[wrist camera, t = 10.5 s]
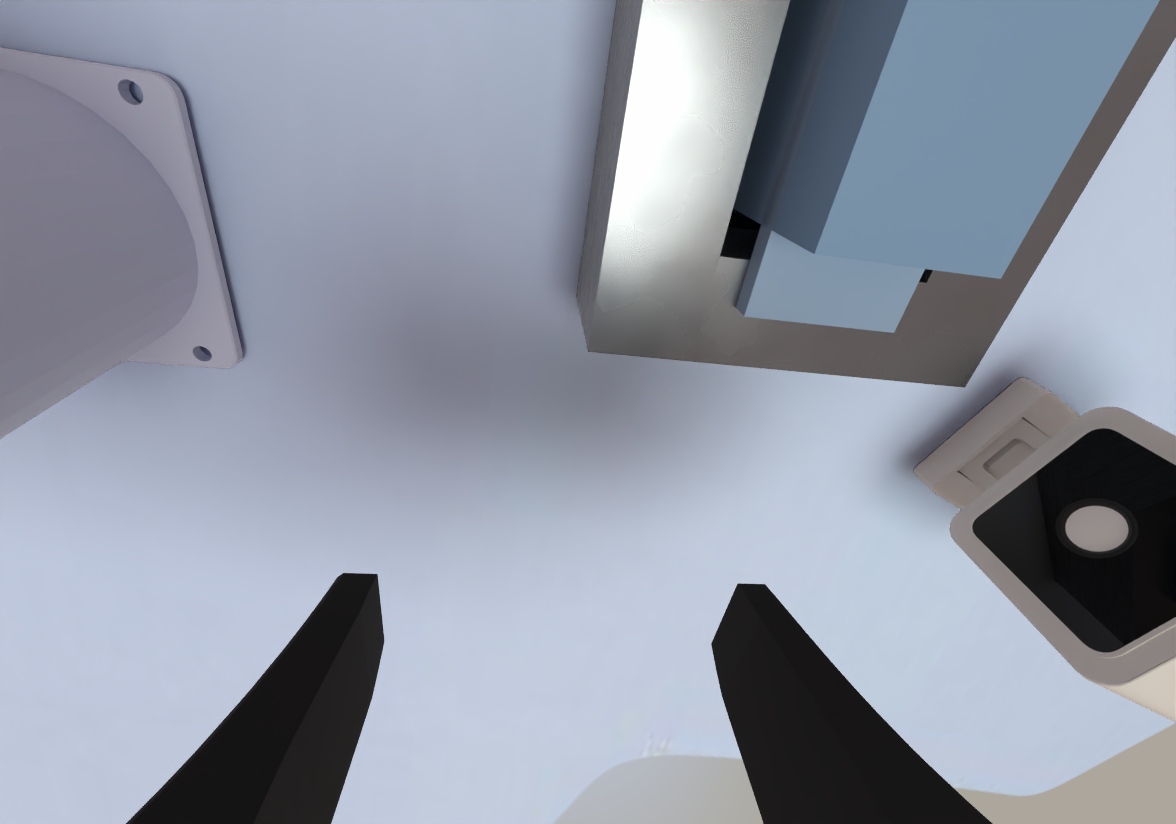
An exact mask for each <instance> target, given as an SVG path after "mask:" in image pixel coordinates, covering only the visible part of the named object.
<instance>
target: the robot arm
mask: <svg viewBox="0 0 1176 824" xmlns="http://www.w3.org/2000/svg"><path fill="white" fill-rule="evenodd" d="M132 81H133V82H134V83H135V84H136V85H138V86H139V87H140V89H141V91H142V93H143V101H142V102H141V103H138V102H137V101H136V100H135V99H134V98H133V97H132V95H131V93H130V91H129V84H130V83H131V82H132ZM200 346H202V347H205V348H206V349H208V350H209V351H210V353H211V354H212V356H209V355H206V354H205V353H203V352H202V350H201V349H200ZM241 359H242V348H241V344H240V339H239V335H238V331H237V326H236V322H235V318H234V313H233V309H232V304H231V300H230V296H229V291H228V287H227V283H226V278H225V274H224V269H223V265H222V261H221V256H220V252H219V248H218V243H217V239H216V234H215V230H214V226H213V221H212V217H211V213H210V208H209V204H208V199H207V195H206V191H205V186H204V182H203V178H202V173H201V169H200V164H199V160H198V156H197V151H196V147H195V143H194V138H193V134H192V129H191V125H190V121H189V116H188V112H187V108H186V103H185V99H184V97H183V94H182V92H181V90H180V88H179V87H178V86H177V84H176V83H175V82H174V81H173V80H171V79H170V78H169V77H167V76H166V75H164V74H161V73H158V72H153V71H147V70H141V69H134V68H128V67H122V66H115V65H109V64H103V63H97V62H90V61H84V60H78V59H71V58H65V57H59V56H52V55H46V54H40V53H33V52H27V51H21V50H15V49H8V48H2V47H0V439H1V438H3V437H4V436H6V435H7V434H9V433H10V432H12V431H14V430H15V429H17V428H18V427H20V426H21V425H23V424H25V423H26V422H28V421H29V420H31V419H32V418H34V417H36V416H37V415H39V414H40V413H42V412H43V411H45V410H47V409H48V408H50V407H51V406H53V405H54V404H56V403H58V402H59V401H61V400H62V399H64V398H65V397H67V396H68V395H70V394H72V393H73V392H75V391H76V390H78V389H79V388H81V387H83V386H84V385H86V384H87V383H89V382H90V381H92V380H94V379H95V378H97V377H98V376H100V375H101V374H103V373H105V372H106V371H108V370H109V369H111V368H112V367H114V366H116V365H117V364H119V363H120V362H122V361H134V362H147V363H159V364H171V365H184V366H196V367H208V368H221V369H227V368H232V367H234V366H235V365H236V364H238V363H239V362H240V360H241ZM711 644H712V650H713V655H714V660H715V665H716V670H717V675H718V680H719V684H720V689H721V693H722V697H723V700H724V703H725V707H726V710H727V713H728V716H729V719H730V722H731V725H732V728H733V732H734V735H735V738H736V741H737V744H738V747H739V750H740V753H741V756H742V759H743V762H744V765H745V768H746V771H747V774H748V777H749V780H750V783H751V786H752V789H753V792H754V795H755V798H756V801H757V805H758V808H759V810H760V814H761V817H762V820H763V823H764V824H992V823H991V822H990V821H989V820H988V819H987V818H985V817H984V816H983V815H982V814H981V813H980V812H979V811H978V810H977V809H975V808H974V807H973V806H972V805H971V804H970V803H969V802H968V801H967V800H965V799H964V798H963V797H962V796H961V795H960V794H959V793H958V792H957V791H956V790H955V789H954V788H953V787H952V786H951V785H950V784H948V783H947V782H946V781H945V780H944V779H943V778H942V777H941V776H940V775H939V774H938V773H937V772H936V771H935V770H934V769H933V768H931V767H930V766H929V765H928V764H927V763H926V762H925V761H924V760H923V759H922V758H921V757H920V756H919V755H918V754H917V753H916V752H915V751H914V750H913V749H912V748H911V747H910V746H909V745H908V744H907V743H906V742H905V741H904V740H903V739H902V738H901V737H900V736H899V735H898V734H897V733H896V732H895V731H894V730H893V728H892V727H891V726H890V725H889V724H888V723H887V722H886V721H885V720H884V719H883V718H882V717H881V716H880V715H879V714H878V713H877V712H876V711H875V710H874V709H873V708H872V707H871V705H870V704H869V703H868V702H867V701H866V700H865V699H864V698H863V697H862V696H861V695H860V694H859V692H858V691H857V690H856V689H855V688H854V687H853V686H852V685H851V684H850V683H849V681H848V680H847V679H846V678H845V677H844V676H843V675H842V674H841V672H840V671H839V670H838V669H837V668H836V667H835V666H834V665H833V663H832V662H831V661H830V660H829V659H828V658H827V656H826V655H825V654H824V653H823V652H822V651H821V650H820V648H819V647H818V646H817V645H816V644H815V643H814V641H813V640H812V639H811V638H810V637H809V635H808V634H807V633H806V632H805V631H804V630H803V628H802V627H801V626H800V625H799V624H798V623H797V621H796V620H795V619H794V618H793V617H792V615H791V614H790V613H789V612H788V611H787V610H786V608H785V607H784V606H783V605H782V604H781V602H780V601H779V600H778V599H777V598H776V597H775V595H774V594H773V593H772V592H771V591H770V590H769V588H768V587H767V586H766V585H765V584H737V586H736V589H735V591H734V593H733V596H732V598H731V600H730V602H729V605H728V607H727V609H726V612H725V614H724V616H723V618H722V621H721V623H720V625H719V628H718V630H717V632H716V634H715V637H714V639H713V641H712V643H711ZM383 645H384V633H383V624H382V614H381V604H380V595H379V585H378V575H377V574H355V573H343V574H341V575H340V576H339V577H337V579H336V580H335V582H334V583H333V584H332V586H331V587H330V589H329V590H328V592H327V593H326V594H325V596H324V597H323V598H322V600H321V601H320V603H319V604H318V605H317V607H316V608H315V609H314V611H313V612H312V613H311V615H310V616H309V617H308V619H307V620H306V621H305V623H304V624H303V625H302V627H301V628H300V629H299V630H298V632H297V633H296V634H295V636H294V637H293V638H292V639H291V641H290V642H289V643H288V645H287V646H286V647H285V648H284V649H283V651H282V652H281V653H280V654H279V656H278V657H277V658H276V659H275V660H274V662H273V663H272V664H271V665H270V667H269V668H268V669H267V670H266V671H265V673H264V674H263V675H262V676H261V678H260V679H259V680H258V681H257V682H256V684H255V685H254V686H253V687H252V688H251V690H250V691H249V692H248V693H247V694H246V695H245V697H244V698H243V699H242V700H241V701H240V702H239V703H238V705H237V706H236V707H235V708H234V709H233V710H232V711H231V712H230V714H229V715H228V716H227V717H226V718H225V719H224V720H223V721H222V723H221V724H220V725H219V726H218V727H217V728H216V729H215V730H214V732H213V733H212V734H211V735H210V736H209V737H208V738H207V739H206V741H205V742H204V743H203V744H202V745H201V746H200V747H199V748H198V750H197V751H196V752H195V753H194V754H193V755H192V756H191V757H190V758H189V759H188V760H187V761H186V762H185V763H184V765H183V766H182V767H181V768H180V769H179V770H178V771H177V772H176V773H175V774H174V775H173V776H172V777H171V778H170V779H169V780H168V781H167V782H166V783H165V785H164V786H163V787H162V788H161V789H160V790H159V791H158V792H157V793H156V794H155V795H154V796H153V797H152V798H151V799H150V800H149V801H148V802H147V803H146V804H145V805H144V806H143V807H142V808H141V809H140V810H139V811H138V812H137V813H136V814H135V815H134V816H133V817H132V818H131V819H130V820H129V821H128V822H127V823H126V824H331V822H332V819H333V816H334V813H335V810H336V807H337V804H338V801H339V798H340V795H341V792H342V789H343V786H344V783H345V779H346V776H347V773H348V770H349V767H350V764H351V761H352V758H353V755H354V752H355V749H356V746H357V743H358V740H359V737H360V734H361V731H362V727H363V724H364V721H365V718H366V715H367V712H368V709H369V706H370V702H371V699H372V695H373V691H374V687H375V682H376V678H377V673H378V669H379V664H380V659H381V655H382V650H383Z"/></svg>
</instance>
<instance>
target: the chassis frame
mask: <svg viewBox="0 0 1176 824" xmlns="http://www.w3.org/2000/svg"><path fill="white" fill-rule="evenodd" d="M789 3H790V0H617V1H616V8H615V15H614V23H613V30H612V37H611V45H610V52H609V59H608V67H607V74H606V82H605V89H604V96H603V104H602V111H601V118H600V126H599V133H598V140H597V148H596V155H595V162H594V170H593V177H592V185H591V192H590V199H589V207H588V214H587V221H586V229H585V236H584V243H583V251H582V258H581V265H580V273H579V280H578V287H577V295H576V296H577V301H578V306H579V311H580V316H581V320H582V325H583V330H584V335H585V340H586V345H587V349H588V352H598V353H609V354H619V355H630V356H640V357H651V358H661V359H672V360H682V361H693V362H703V363H714V364H724V365H735V366H746V367H756V368H767V369H777V370H788V371H798V372H809V373H819V374H830V375H840V376H851V377H861V378H872V379H882V380H893V381H903V382H914V383H924V384H935V385H945V386H956V387H965V386H966V384H967V383H968V381H969V380H970V378H971V376H972V375H973V373H974V371H975V370H976V368H977V366H978V365H979V363H980V361H981V360H982V358H983V356H984V355H985V353H986V351H987V350H988V348H989V346H990V345H991V343H992V341H993V340H994V338H995V336H996V335H997V333H998V331H999V330H1000V328H1001V326H1002V325H1003V323H1004V321H1005V320H1006V318H1007V316H1008V315H1009V313H1010V311H1011V310H1012V308H1013V306H1014V305H1015V303H1016V301H1017V300H1018V298H1019V296H1020V295H1021V293H1022V291H1023V290H1024V288H1025V287H1026V285H1027V283H1028V282H1029V280H1030V278H1031V277H1032V275H1033V273H1034V272H1035V270H1036V268H1037V267H1038V265H1039V263H1040V262H1041V260H1042V258H1043V257H1044V255H1045V253H1046V252H1047V250H1048V248H1049V247H1050V245H1051V243H1052V242H1053V240H1054V238H1055V237H1056V235H1057V233H1058V232H1059V230H1060V228H1061V227H1062V225H1063V223H1064V222H1065V220H1066V218H1067V217H1068V215H1069V213H1070V212H1071V210H1072V208H1073V207H1074V205H1075V203H1076V202H1077V200H1078V198H1079V197H1080V195H1081V193H1082V192H1083V190H1084V189H1085V187H1086V185H1087V184H1088V182H1089V180H1090V179H1091V177H1092V175H1093V174H1094V172H1095V170H1096V169H1097V167H1098V165H1099V164H1100V162H1101V160H1102V159H1103V157H1104V155H1105V154H1106V152H1107V150H1108V149H1109V147H1110V145H1111V144H1112V142H1113V140H1114V139H1115V137H1116V135H1117V134H1118V132H1119V130H1120V129H1121V127H1122V125H1123V124H1124V122H1125V120H1126V119H1127V117H1128V115H1129V114H1130V112H1131V110H1132V109H1133V107H1134V105H1135V104H1136V102H1137V100H1138V99H1139V97H1140V96H1141V94H1142V92H1143V91H1144V89H1145V87H1146V86H1147V84H1148V82H1149V81H1150V79H1151V77H1152V76H1153V74H1154V72H1155V71H1156V69H1157V67H1158V66H1159V64H1160V62H1161V61H1162V59H1163V57H1164V56H1165V54H1166V52H1167V51H1168V49H1169V47H1170V46H1171V44H1172V42H1173V41H1174V39H1175V37H1176V0H1160V1H1159V3H1158V5H1157V6H1156V8H1155V10H1154V12H1153V13H1152V15H1151V17H1150V19H1149V20H1148V22H1147V24H1146V26H1145V27H1144V29H1143V31H1142V33H1141V34H1140V36H1139V38H1138V40H1137V41H1136V43H1135V45H1134V47H1133V48H1132V50H1131V52H1130V54H1129V55H1128V57H1127V59H1126V61H1125V62H1124V64H1123V66H1122V68H1121V69H1120V71H1119V73H1118V75H1117V76H1116V78H1115V80H1114V82H1113V83H1112V85H1111V87H1110V89H1109V90H1108V92H1107V94H1106V96H1105V97H1104V99H1103V101H1102V103H1101V104H1100V106H1099V108H1098V110H1097V111H1096V113H1095V115H1094V117H1093V118H1092V120H1091V122H1090V124H1089V125H1088V127H1087V129H1086V131H1085V132H1084V134H1083V136H1082V138H1081V139H1080V141H1079V143H1078V145H1077V146H1076V148H1075V150H1074V152H1073V153H1072V155H1071V157H1070V159H1069V160H1068V162H1067V164H1066V166H1065V167H1064V169H1063V171H1062V173H1061V174H1060V176H1059V178H1058V180H1057V181H1056V183H1055V185H1054V187H1053V188H1052V190H1051V192H1050V194H1049V195H1048V197H1047V199H1046V201H1045V202H1044V204H1043V206H1042V208H1041V209H1040V211H1039V213H1038V215H1037V216H1036V218H1035V220H1034V222H1033V223H1032V225H1031V227H1030V229H1029V230H1028V232H1027V234H1026V236H1025V237H1024V239H1023V241H1022V243H1021V244H1020V246H1019V248H1018V250H1017V251H1016V253H1015V255H1014V257H1013V258H1012V260H1011V262H1010V264H1009V265H1008V267H1007V269H1006V271H1005V272H1004V274H1003V276H1002V278H1001V279H998V278H990V277H982V276H975V275H967V274H960V273H952V272H944V271H937V270H929V269H925V270H924V272H923V274H922V277H921V279H920V281H919V283H918V285H917V287H916V289H915V291H914V293H913V295H912V297H911V299H910V301H909V303H908V305H907V307H906V309H905V311H904V313H903V315H902V317H901V320H900V322H899V324H898V326H897V328H896V330H895V332H894V333H890V332H881V331H872V330H863V329H853V328H844V327H835V326H826V325H817V324H808V323H798V322H789V321H780V320H771V319H762V318H753V317H744V316H743V315H742V314H741V313H740V312H739V311H738V310H737V309H736V305H737V302H738V299H739V295H740V292H741V289H742V286H743V282H744V279H745V276H746V273H747V269H748V266H749V263H750V260H751V256H752V253H753V250H754V246H755V243H756V240H757V237H758V233H759V231H758V230H751V229H743V228H736V227H729V226H728V225H729V221H730V217H731V214H732V210H733V207H734V203H735V199H736V196H737V192H738V188H739V185H740V181H741V177H742V174H743V170H744V167H745V163H746V159H747V156H748V152H749V148H750V145H751V141H752V137H753V134H754V130H755V127H756V123H757V119H758V116H759V112H760V108H761V105H762V101H763V98H764V94H765V90H766V87H767V83H768V79H769V76H770V72H771V68H772V65H773V61H774V58H775V54H776V50H777V47H778V43H779V39H780V36H781V32H782V28H783V25H784V21H785V18H786V14H787V10H788V7H789Z"/></svg>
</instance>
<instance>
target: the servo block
mask: <svg viewBox="0 0 1176 824" xmlns="http://www.w3.org/2000/svg"><path fill="white" fill-rule="evenodd" d="M1159 1H1160V0H790V3H789V7H788V10H787V14H786V18H785V21H784V25H783V28H782V32H781V36H780V39H779V43H778V47H777V50H776V54H775V58H774V61H773V65H772V68H771V72H770V76H769V79H768V83H767V87H766V90H765V94H764V98H763V101H762V105H761V108H760V112H759V116H758V119H757V123H756V127H755V130H754V134H753V137H752V141H751V145H750V148H749V152H748V156H747V159H746V163H745V167H744V170H743V174H742V177H741V181H740V185H739V188H738V192H737V196H736V199H735V203H734V207H733V209H735V210H736V211H738V212H740V213H742V214H744V215H745V216H747V217H749V218H751V219H752V220H754V221H756V222H758V223H759V224H761V227H760V230H759V233H758V237H757V240H756V243H755V246H754V250H753V253H752V256H751V260H750V263H749V266H748V269H747V273H746V276H745V279H744V282H743V286H742V289H741V292H740V295H739V299H738V302H737V305H736V309H737V310H738V311H739V312H740V313H741V314H742V315H743V316H744V317H753V318H762V319H771V320H780V321H789V322H798V323H808V324H817V325H826V326H835V327H844V328H853V329H863V330H872V331H881V332H890V333H894V332H895V330H896V328H897V326H898V324H899V322H900V320H901V317H902V315H903V313H904V311H905V309H906V307H907V305H908V303H909V301H910V299H911V297H912V295H913V293H914V291H915V289H916V287H917V285H918V283H919V281H920V279H921V277H922V274H923V272H924V270H925V269H929V270H937V271H944V272H952V273H960V274H967V275H975V276H982V277H990V278H998V279H1001V278H1002V276H1003V274H1004V272H1005V271H1006V269H1007V267H1008V265H1009V264H1010V262H1011V260H1012V258H1013V257H1014V255H1015V253H1016V251H1017V250H1018V248H1019V246H1020V244H1021V243H1022V241H1023V239H1024V237H1025V236H1026V234H1027V232H1028V230H1029V229H1030V227H1031V225H1032V223H1033V222H1034V220H1035V218H1036V216H1037V215H1038V213H1039V211H1040V209H1041V208H1042V206H1043V204H1044V202H1045V201H1046V199H1047V197H1048V195H1049V194H1050V192H1051V190H1052V188H1053V187H1054V185H1055V183H1056V181H1057V180H1058V178H1059V176H1060V174H1061V173H1062V171H1063V169H1064V167H1065V166H1066V164H1067V162H1068V160H1069V159H1070V157H1071V155H1072V153H1073V152H1074V150H1075V148H1076V146H1077V145H1078V143H1079V141H1080V139H1081V138H1082V136H1083V134H1084V132H1085V131H1086V129H1087V127H1088V125H1089V124H1090V122H1091V120H1092V118H1093V117H1094V115H1095V113H1096V111H1097V110H1098V108H1099V106H1100V104H1101V103H1102V101H1103V99H1104V97H1105V96H1106V94H1107V92H1108V90H1109V89H1110V87H1111V85H1112V83H1113V82H1114V80H1115V78H1116V76H1117V75H1118V73H1119V71H1120V69H1121V68H1122V66H1123V64H1124V62H1125V61H1126V59H1127V57H1128V55H1129V54H1130V52H1131V50H1132V48H1133V47H1134V45H1135V43H1136V41H1137V40H1138V38H1139V36H1140V34H1141V33H1142V31H1143V29H1144V27H1145V26H1146V24H1147V22H1148V20H1149V19H1150V17H1151V15H1152V13H1153V12H1154V10H1155V8H1156V6H1157V5H1158V3H1159Z"/></svg>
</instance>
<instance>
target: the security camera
mask: <svg viewBox="0 0 1176 824" xmlns="http://www.w3.org/2000/svg"><path fill="white" fill-rule="evenodd" d="M914 473H915V474H916V475H917V476H918V477H919V478H920V479H921V480H922V481H923V482H924V483H925V484H926V485H927V486H928V487H929V488H930V489H931V490H932V491H933V492H934V493H935V494H937V495H939V496H940V497H942V498H944V499H945V500H947V501H949V502H950V503H952V504H953V505H955V506H957V507H958V508H960V509H962V510H960V511H959V512H958V513H957V514H956V515H955V516H954V517H953V519H952V521H951V523H950V534H951V537H952V539H953V540H954V541H955V543H956V544H957V545H958V546H959V547H960V548H961V549H962V550H963V551H964V552H965V553H966V554H967V556H968V557H969V558H970V559H971V560H972V561H973V562H974V563H975V564H976V565H977V566H978V567H979V568H980V569H981V570H982V571H983V572H984V574H985V575H986V576H987V577H988V578H989V579H990V580H991V581H992V582H993V583H994V584H995V585H996V586H997V587H998V588H999V589H1000V591H1001V592H1002V593H1003V594H1004V595H1005V596H1006V597H1007V598H1008V599H1009V600H1010V601H1011V602H1012V603H1013V604H1014V605H1015V606H1016V607H1017V609H1018V610H1019V611H1020V612H1021V613H1022V614H1023V615H1024V616H1025V617H1026V618H1027V619H1028V620H1029V621H1030V622H1031V623H1032V624H1033V626H1034V627H1035V628H1036V629H1037V630H1038V631H1039V632H1040V633H1041V634H1042V635H1043V636H1044V637H1045V638H1046V639H1047V640H1048V641H1049V642H1050V644H1051V645H1052V646H1053V647H1054V648H1055V649H1056V650H1057V651H1058V652H1059V653H1060V654H1061V655H1062V656H1063V657H1064V658H1065V659H1066V661H1067V662H1068V663H1069V664H1070V665H1071V666H1072V667H1073V668H1074V669H1075V670H1076V671H1077V672H1078V673H1080V674H1081V675H1082V676H1083V677H1084V678H1086V679H1087V680H1089V681H1091V682H1093V683H1095V684H1097V685H1099V686H1102V687H1104V688H1106V689H1108V690H1110V691H1112V692H1114V693H1116V694H1118V695H1120V696H1122V697H1124V698H1126V699H1128V700H1131V701H1133V702H1135V703H1137V704H1139V705H1141V706H1143V707H1145V708H1147V709H1149V710H1151V711H1153V712H1155V713H1158V714H1160V715H1162V716H1164V717H1166V718H1168V719H1170V720H1172V721H1174V722H1176V436H1175V435H1173V434H1171V433H1169V432H1167V431H1165V430H1163V429H1161V428H1160V427H1158V426H1156V425H1154V424H1152V423H1150V422H1148V421H1146V420H1144V419H1143V418H1141V417H1139V416H1137V415H1135V414H1133V413H1131V412H1129V411H1127V410H1124V409H1121V408H1117V407H1102V408H1096V409H1093V410H1090V411H1088V412H1086V413H1084V414H1083V415H1081V416H1079V415H1078V414H1077V413H1076V412H1074V411H1073V410H1072V409H1071V408H1070V407H1068V406H1067V405H1066V404H1065V403H1064V402H1062V401H1061V400H1060V399H1059V398H1058V397H1057V396H1055V395H1054V394H1053V393H1051V392H1049V391H1048V390H1046V389H1044V388H1042V387H1041V386H1039V385H1037V384H1035V383H1034V382H1032V381H1030V380H1028V379H1027V378H1024V377H1022V378H1019V379H1017V380H1016V381H1015V382H1013V383H1012V384H1011V385H1010V386H1009V387H1008V388H1006V389H1005V390H1004V391H1003V392H1002V393H1001V394H1000V395H998V396H997V397H996V398H995V399H994V400H993V401H991V402H990V403H989V404H988V405H987V406H986V407H984V408H983V409H982V410H981V411H980V412H979V413H978V414H976V415H975V416H974V417H973V418H972V419H971V420H969V421H968V422H967V423H966V424H965V425H964V426H963V427H961V428H960V429H959V430H958V431H957V432H956V433H954V434H953V435H952V436H951V437H950V438H949V439H947V440H946V441H945V442H944V443H943V444H942V445H941V446H939V447H938V448H937V449H936V450H935V451H934V452H932V453H931V454H930V455H929V456H928V457H927V458H926V459H924V460H923V461H922V462H921V463H920V464H919V465H917V466H916V467H915V469H914Z"/></svg>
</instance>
